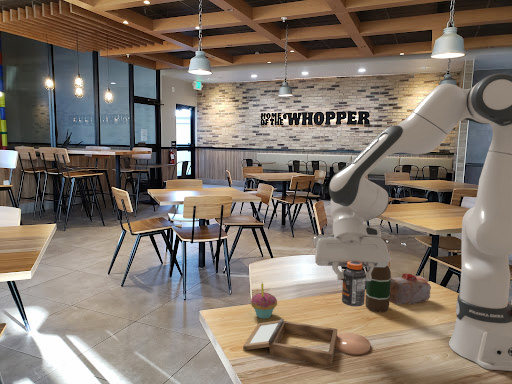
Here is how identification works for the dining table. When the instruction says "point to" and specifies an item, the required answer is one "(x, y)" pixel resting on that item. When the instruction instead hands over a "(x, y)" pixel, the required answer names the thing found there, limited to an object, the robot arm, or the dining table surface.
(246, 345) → the lid
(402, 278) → the food item
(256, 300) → the cupcake
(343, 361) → the dining table surface
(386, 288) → the beer bottle
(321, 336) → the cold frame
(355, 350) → the pink round plate
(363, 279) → the pill bottle
